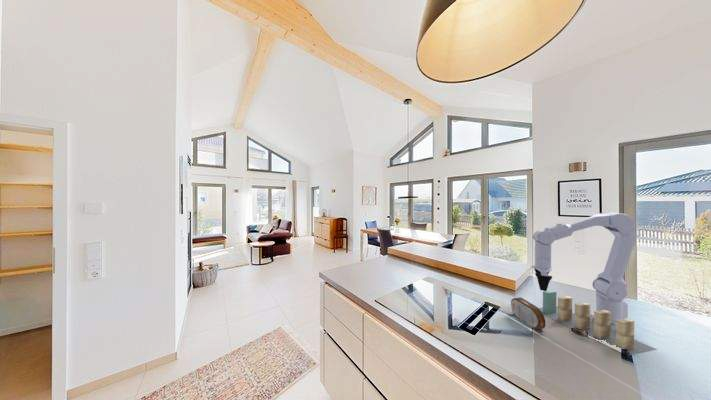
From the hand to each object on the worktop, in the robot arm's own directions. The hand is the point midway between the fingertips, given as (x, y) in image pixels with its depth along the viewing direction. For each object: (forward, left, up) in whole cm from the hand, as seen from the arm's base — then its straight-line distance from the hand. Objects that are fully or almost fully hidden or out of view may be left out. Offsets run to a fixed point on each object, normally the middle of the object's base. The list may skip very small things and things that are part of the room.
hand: (542, 287), depth 102 cm
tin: (+17, +7, -10) cm, 21 cm away
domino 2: (0, +9, -10) cm, 13 cm away
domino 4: (0, +21, -10) cm, 23 cm away
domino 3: (0, +15, -10) cm, 18 cm away
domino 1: (0, +3, -10) cm, 10 cm away
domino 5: (0, +27, -10) cm, 29 cm away
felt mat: (-2, +15, -10) cm, 18 cm away
